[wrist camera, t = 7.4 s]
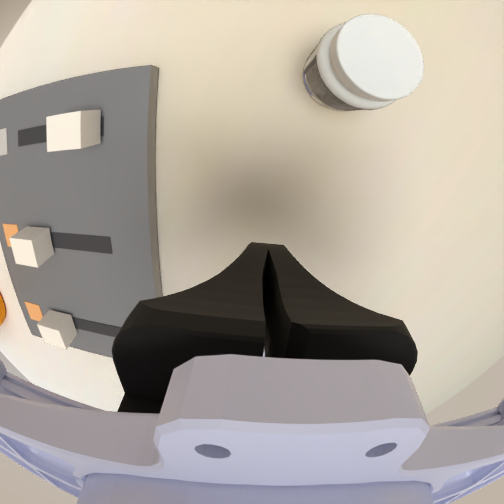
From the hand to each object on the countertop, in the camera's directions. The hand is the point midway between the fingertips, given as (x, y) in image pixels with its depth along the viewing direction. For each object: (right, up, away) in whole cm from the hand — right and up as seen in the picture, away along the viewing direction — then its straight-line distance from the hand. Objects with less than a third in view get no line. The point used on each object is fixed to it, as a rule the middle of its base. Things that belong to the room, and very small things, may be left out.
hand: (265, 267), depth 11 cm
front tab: (-12, +9, +5) cm, 16 cm away
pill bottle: (+5, +12, +5) cm, 14 cm away
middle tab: (-19, +2, +9) cm, 21 cm away
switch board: (-17, +2, +11) cm, 20 cm away
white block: (-19, -6, +13) cm, 24 cm away
